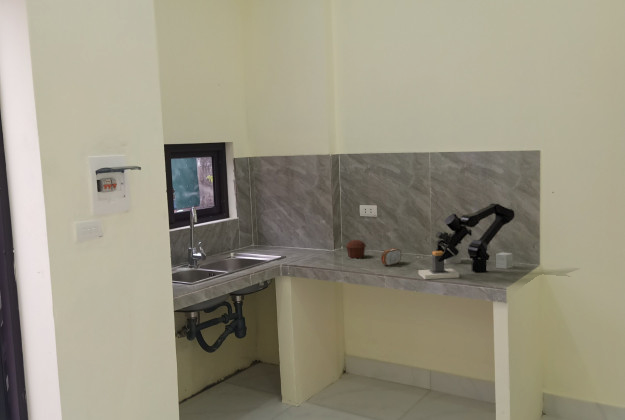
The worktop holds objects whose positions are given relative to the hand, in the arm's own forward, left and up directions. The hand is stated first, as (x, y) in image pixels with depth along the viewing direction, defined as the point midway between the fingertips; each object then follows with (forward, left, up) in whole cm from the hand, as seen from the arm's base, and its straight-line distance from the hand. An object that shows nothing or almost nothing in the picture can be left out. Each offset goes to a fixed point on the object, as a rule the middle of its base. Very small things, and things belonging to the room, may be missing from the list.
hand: (435, 259), depth 312 cm
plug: (-1, 0, -8) cm, 8 cm away
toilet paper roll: (-15, -34, -8) cm, 38 cm away
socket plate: (-1, 0, -8) cm, 8 cm away
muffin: (+34, -60, -8) cm, 69 cm away
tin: (+17, -34, -8) cm, 39 cm away
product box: (-38, -13, -8) cm, 41 cm away
